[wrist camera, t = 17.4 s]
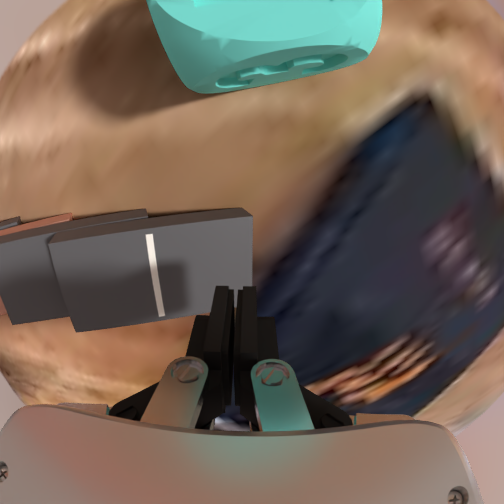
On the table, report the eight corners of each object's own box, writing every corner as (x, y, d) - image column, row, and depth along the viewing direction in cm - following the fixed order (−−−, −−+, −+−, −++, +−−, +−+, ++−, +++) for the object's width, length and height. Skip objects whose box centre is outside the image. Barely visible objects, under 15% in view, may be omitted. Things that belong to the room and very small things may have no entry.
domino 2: (147, 216, 15) (-16, 247, 11) (159, 300, 18) (12, 324, 14) (145, 208, 17) (-6, 237, 13) (156, 286, 19) (18, 310, 15)
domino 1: (252, 216, 16) (48, 244, 12) (251, 304, 18) (75, 332, 14) (241, 207, 17) (56, 232, 13) (241, 289, 19) (79, 315, 16)
